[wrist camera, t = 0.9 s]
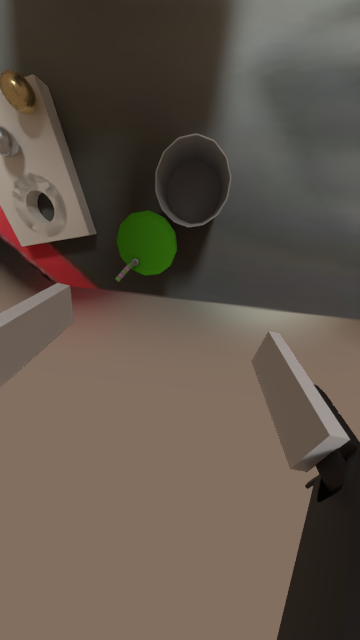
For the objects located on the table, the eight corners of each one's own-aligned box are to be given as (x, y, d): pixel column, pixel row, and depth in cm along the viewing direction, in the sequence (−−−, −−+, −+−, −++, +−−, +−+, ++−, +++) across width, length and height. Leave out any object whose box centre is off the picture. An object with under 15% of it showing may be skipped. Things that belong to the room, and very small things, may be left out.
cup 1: (173, 204, 30) (155, 195, 17) (188, 252, 34) (182, 275, 21) (130, 221, 32) (84, 226, 19) (149, 266, 35) (120, 295, 22)
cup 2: (215, 226, 31) (222, 230, 23) (166, 221, 32) (154, 224, 23) (225, 162, 27) (238, 136, 18) (169, 157, 27) (156, 129, 19)
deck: (-33, 110, 27) (-54, 101, 24) (48, 86, 25) (33, 74, 23) (32, 244, 35) (21, 246, 33) (96, 233, 33) (89, 235, 31)
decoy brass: (11, 85, 23) (-16, 66, 20) (35, 77, 23) (10, 57, 20) (25, 122, 25) (2, 110, 22) (48, 116, 24) (28, 102, 21)
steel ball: (-4, 132, 26) (-28, 122, 23) (16, 127, 25) (-6, 116, 22) (10, 162, 27) (-12, 156, 24) (29, 157, 27) (9, 150, 24)
